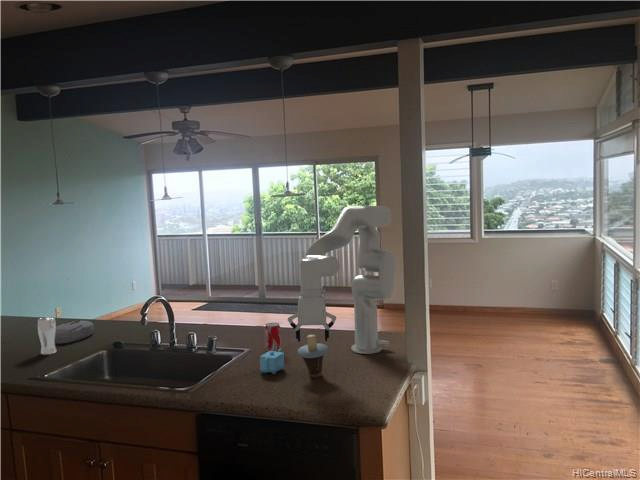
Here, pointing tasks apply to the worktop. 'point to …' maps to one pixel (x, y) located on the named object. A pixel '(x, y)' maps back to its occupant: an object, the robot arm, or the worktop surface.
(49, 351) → the beer glass
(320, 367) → the cup
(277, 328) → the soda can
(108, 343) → the worktop surface
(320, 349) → the lid
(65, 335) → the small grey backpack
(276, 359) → the light blue box
